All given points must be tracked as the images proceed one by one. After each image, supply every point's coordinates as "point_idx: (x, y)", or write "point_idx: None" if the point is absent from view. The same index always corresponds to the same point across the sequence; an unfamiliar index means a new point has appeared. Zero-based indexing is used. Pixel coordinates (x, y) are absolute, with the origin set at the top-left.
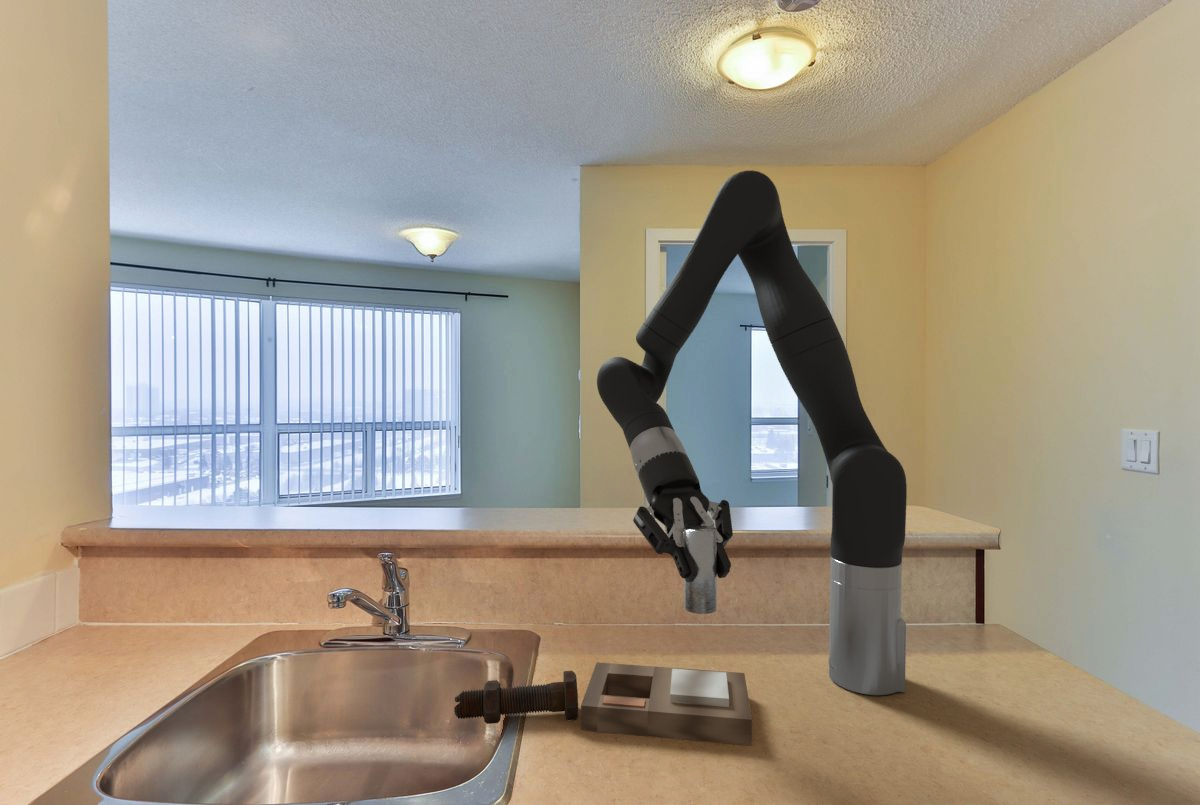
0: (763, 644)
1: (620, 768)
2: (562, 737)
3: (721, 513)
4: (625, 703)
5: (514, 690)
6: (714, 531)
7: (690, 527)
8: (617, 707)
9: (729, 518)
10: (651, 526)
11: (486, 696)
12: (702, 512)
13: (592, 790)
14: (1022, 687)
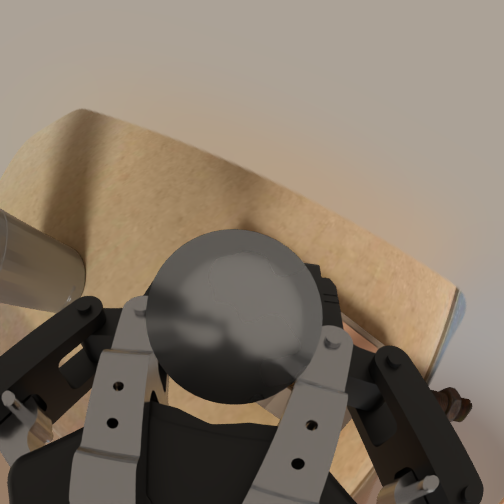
0: (77, 401)
1: (381, 278)
2: (404, 348)
3: (23, 380)
4: (357, 335)
5: (439, 402)
6: (202, 235)
7: (256, 373)
8: (367, 334)
9: (22, 344)
10: (444, 417)
11: (459, 397)
12: (108, 423)
13: (410, 263)
14: (11, 208)
